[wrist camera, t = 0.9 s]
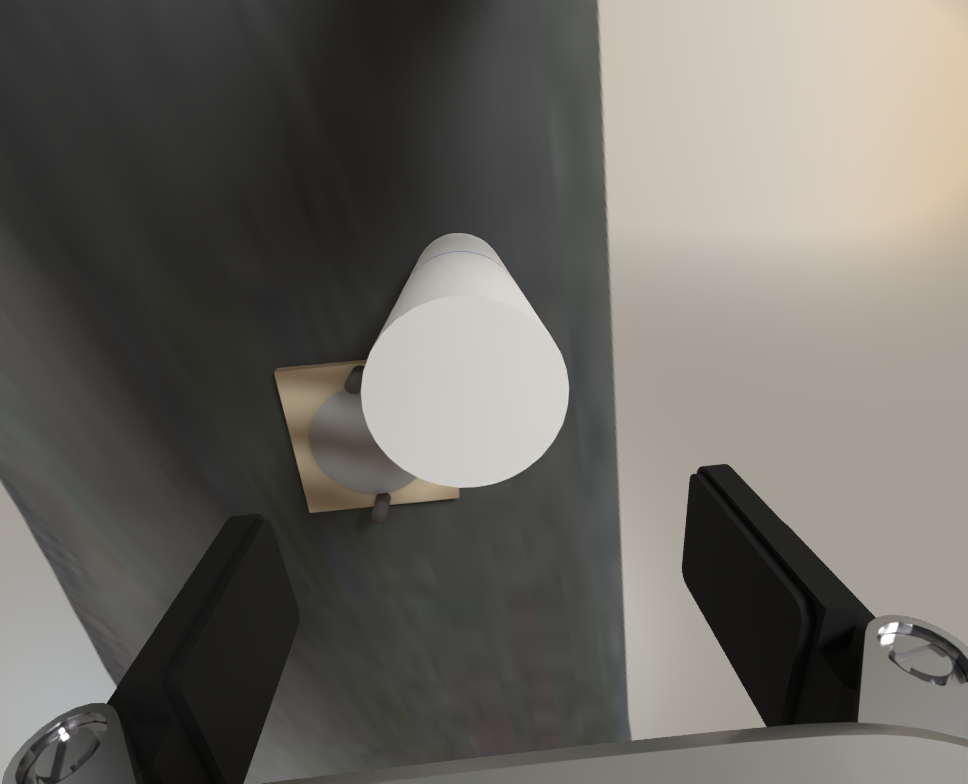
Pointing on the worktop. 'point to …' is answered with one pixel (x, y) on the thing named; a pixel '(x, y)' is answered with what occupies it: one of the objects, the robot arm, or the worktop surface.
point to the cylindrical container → (463, 371)
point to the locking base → (343, 444)
